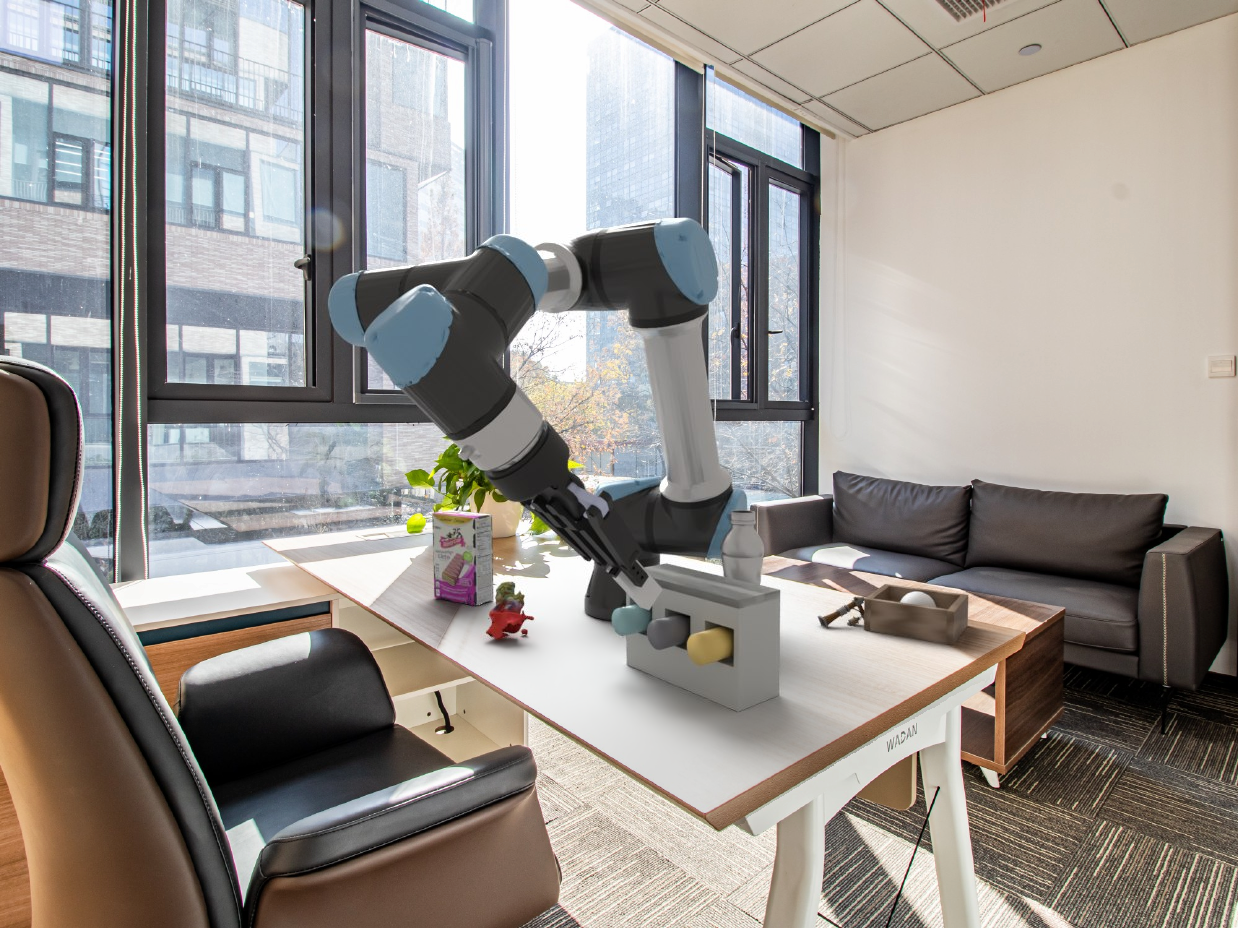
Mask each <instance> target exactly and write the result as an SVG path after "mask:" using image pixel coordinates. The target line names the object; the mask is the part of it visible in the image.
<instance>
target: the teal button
mask: <svg viewBox="0 0 1238 928" xmlns="http://www.w3.org/2000/svg"><path fill="white" fill-rule="evenodd" d="M651 621H652V607H651V608H650V610H647V609H644V608H641V607H639V606H638V605H637V604H635V605H630V606H626V607H622V608H617V609H615V610H614V612H613V614H612V620H611V624H612V629H613V630H614V631H615V633H616V634H617V635H619V637H625V636H626V635H630V634H634V633H638V632H641V631H645V630H647V627H648V625H649V623H650V622H651Z"/></svg>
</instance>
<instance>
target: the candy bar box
mask: <svg viewBox="0 0 1238 928" xmlns="http://www.w3.org/2000/svg"><path fill="white" fill-rule="evenodd" d="M431 516H432V517H431V518H432V551H433V552H432V553H433V557H432V558H433V559H432V561H433V592H434V593H433V594H434V595H433V596H434V598H435V599H441V600H444V601H448V600H449V601H448V602H455V603H458V602H459V604H463V603H467V604H466V605H468V604H471V605H470V606H473V605H479V604H481V603H485V602H488V603H490V602H489V601H491V602H493V601H494V562H493V561H494V556H493V554H494V551H493V547H494V546H493V544H494V543H493V515H492V514H489V513H480V512H472V511H471V512H470V511H464V510H462V511H461V510H455V509H454V510H453V509H449V510H441V511H435V512H432V513H431ZM492 600H493V601H492ZM485 604H486V603H485ZM479 606H480V605H479Z"/></svg>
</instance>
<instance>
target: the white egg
mask: <svg viewBox="0 0 1238 928" xmlns="http://www.w3.org/2000/svg"><path fill="white" fill-rule="evenodd" d="M900 602H901V603H908V604H915V605H922V606H929V607H936V605H935V603H934V601H933V599H932V598H931V597H930V596H929V595H927V594H925V593H923V592H917V591H915V592H911V593H908V594H906V595H905V596H904V597H903V598H902V600H901V601H900Z"/></svg>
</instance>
